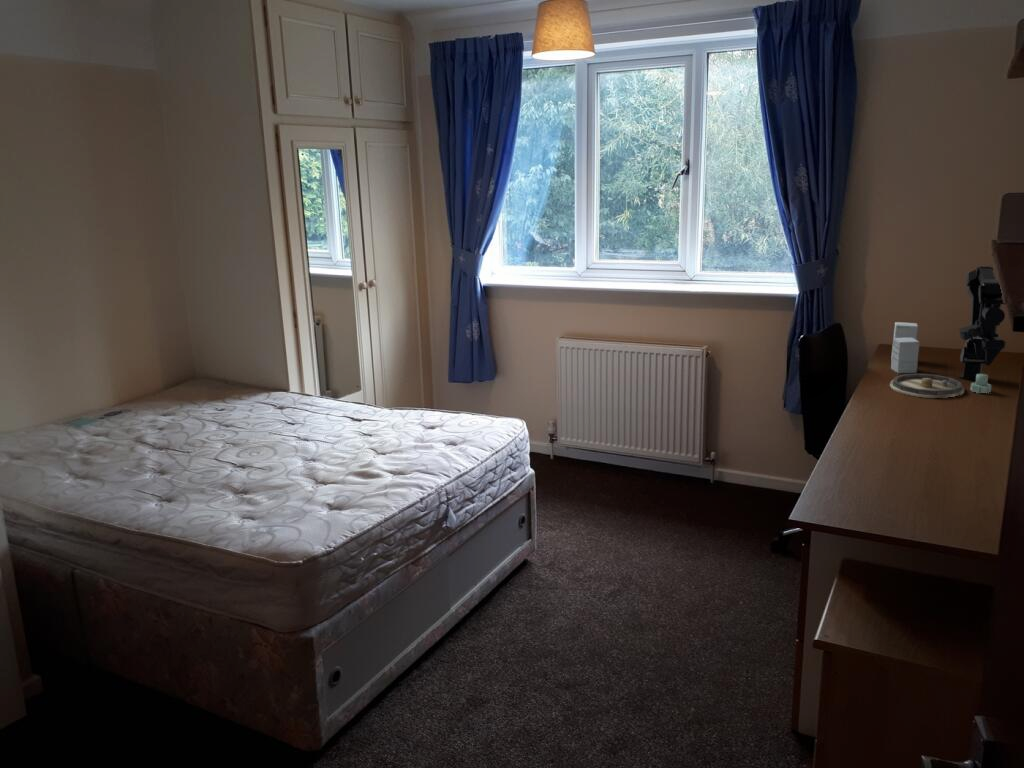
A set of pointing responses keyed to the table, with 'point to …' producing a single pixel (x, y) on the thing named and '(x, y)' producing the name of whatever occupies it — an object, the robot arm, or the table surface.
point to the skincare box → (905, 330)
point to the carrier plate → (917, 385)
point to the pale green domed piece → (981, 384)
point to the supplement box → (905, 355)
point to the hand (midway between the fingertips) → (983, 361)
